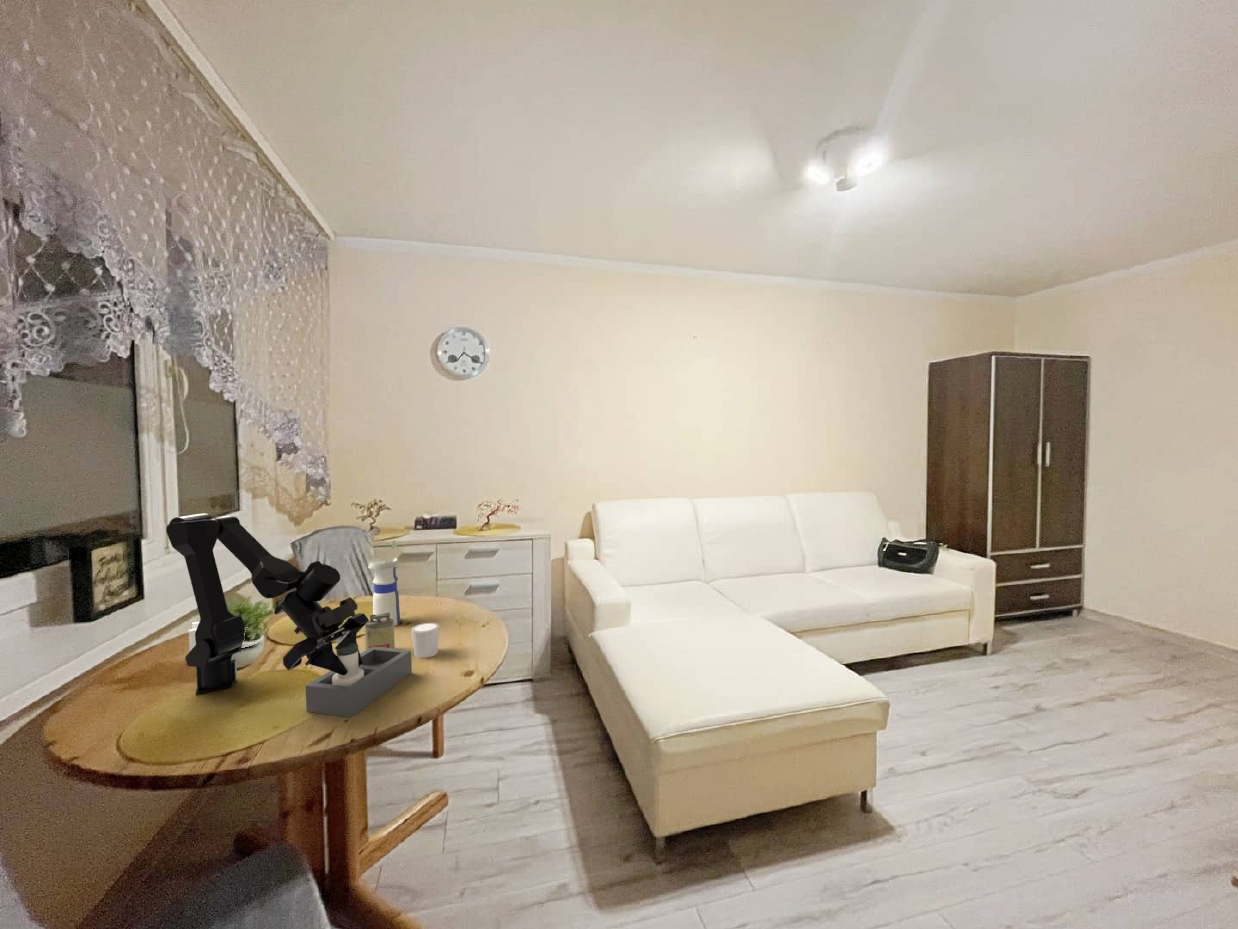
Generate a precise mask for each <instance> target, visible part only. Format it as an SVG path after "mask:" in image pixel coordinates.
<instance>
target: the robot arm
mask: <svg viewBox="0 0 1238 929" xmlns="http://www.w3.org/2000/svg"><path fill="white" fill-rule="evenodd" d="M165 527H166V529H165V530H166V534H167V538H168V540H169V542H170V545H171V547H172V548H173V549H174V550H176V551H177V552H178V553H179V554H180V555H182V556H183V558H184V559H185V564H186V568H187V571H188V575H189V579H190V583H191V586H192V591H193V594H194V595H193V596H194V599H195V603H196V606H197V611H198V615H199V619H200V620H199V621H198V622H199V625H198V627H197V630H196V632H195V640H196V645H195V646H194V648H193V649H192V650H191V651H190V650H189V652H188V653H187V654H186V655H185V657H184V658H185V662H186V666H188V667H194V668H195V671H196V690H195V693H196V694H195V695H198V694H197V693H201V694H203V693H204V694H205V693H209V691H210V692H214V691H219V689H220V690H223V689H222V688H224V689H228V688H227V687H229V688H232V687H233V685H234V682H236V681H237V678H238V670H237V669H238V668H237V664H238V663H237V659H236V658H235V659H234V654H238V653H240V652H241V651H242V643H243V641H244V640H245V633H244V632H246V629H245V628H246V627H245V625H244V620H243V619H244V618H243V617H242V616H241V615H234V614H233V613H232V612H231V611H229V609H228V604H227V601H226V600H227V599H226V598H225V593H224V588H223V585H222V581H221V576H220V573H219V570H218V565H217V563H216V558H215V555H214V554H215V553H214V548H215V546H216V543H217V541H219V542H220V543H221V544H222V545H223V546H224V547H225V548H226V549H227V550H228V551H229V552H230V553H231V554H232V555H233V556H234V557H235V558H236V559H237V560H238V561H239V562H240V563H241V564H242V565H243V566H244V567H245V568H246V569H247V570H248V571H249V572H250V575H251V583H252V584H253V586H254V587H255V589H256V590H257V592H258V593H259V594H260V595H261V597H263V598H264V599H275V598H277V597H280V596H283V595H285V596H284V598H281V599H279V600H276V601H275V607H274V612H273V614H274V615H279V614H281V613H285V615H287V616H288V619H290V620H291V621H292V622H293V623H294V625H295V627H296V628H295V629H294V630H293V632H294V633H295V634H296V635H298V634H301V633H302V634H303V636H304V637H305V638H304V639H303V640H301V641H298V642H297V643H295V644H294V645H293V646H292V647H291V648H290V650H288V652H287V653H285V655H284V656H283V657H282V664H283V666H284V668H285V669H286V670H287V671H292V670H293V669H296V668H297V667H299V666H300V665H301V664H302V661H303V658H304V657H305V656H306V658H307V661H306V662H305V663H304V664H305V666H309V665H310V666H314V667H317V668H321V669H325V670H327V671H329V672H330V671H333V672H335V673H338V674H341V675H343V676H344V675H346V674H347V673H348V671H347V669H346V668H345V666H344V665H343V663H342V662H341V661H340V659H339V658H338V657H337V654H336V653H335V652H334V649H335V650H336V648H337V647H338V646H340V645H343V644H347V643H356V644H358V643H357V642H358V641H357V634H358V633H359V632H360V631H361V630H362V629H363V628H364V627H365V624H366V623H367V622H368V621H370V618H368V616H367V615H366V614H365V613H362V612H361V613H360V612H359V613H357V614H356V612H355V611H357V610H358V607H359V606H358V603H357V602H356V600H354V599H353V598H352V597H347V598H346V599H343V600H341V601H340V602H339V606H337V607H335V608H333V609H332V608H331V607H330V606H327V605H325V606H324V607H322V605H321V604H320V603H319V602H320V601H322V600H323V599H325V598H326V597H327V595H329V593H330V592H331V591H332V590H333V589H334V588H335V587H336V586H337V584H338V583H339V582H340V580H341V575H340V572H339V571H338V569H337V568H336V567H335V568H334V567H333V566H331V565H328V564H325V563H324V564H323V563H322V562H321V561H320V560H316V561H313V562H311V563H309V565H308V566H307V569H306V570H304V571H303V570H300V569H298V568H297V567H296V566H294V565H293V564H292V563H290V562H288V561H287V560H284V559H283V558H278V557H275V556H274V555H272V553H270V552H269V551H268V549H266V548H265V547H264V546H263V545H262V544H261V543H260V542H259V541H258V540H257V539H256V538H255V537H254V536H253V535H252V534H251V533H250V532H249V531H248V530H247V528H245V527H244V526H243V525H242V524H241V521H240V520H239V518H238V517H237V516H233V515H225V516H223V515H222V516H221V515H220V516H219V515H217V516H212V515H210V514H209V513H206V512H205V513H202V512H201V513H196V514H190V515H184V516H178V517H177V516H175V517H174V518H172V519H171V520H170V522H169V523H168V525H166V526H165ZM286 594H287V595H286ZM334 641H335V642H336V643H337V645H336V646H335V648H334V649H333V642H334ZM360 654H361V652H360V650H359V648H358V665H359V666H360V665H361V664H362V663H363V662H362V659H361V655H360Z"/></svg>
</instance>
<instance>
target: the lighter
mask: <svg viewBox="0 0 1238 929" xmlns="http://www.w3.org/2000/svg"><path fill="white" fill-rule="evenodd" d="M382 618H387V619H382ZM373 619H376V620H373ZM364 646H365V647H364V649H365V651H366V650H368V649H369V648H371V647H383V648H393V649H396V647H395V626H394V621H393V619H391V618H390V612H387V613H385V614H379V615H373V614H370V615H369V621H368V622H367V623H366V624H365V625H364Z"/></svg>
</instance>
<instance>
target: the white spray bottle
mask: <svg viewBox="0 0 1238 929" xmlns="http://www.w3.org/2000/svg"><path fill="white" fill-rule="evenodd" d="M389 544H390V545H391V550H394V549H395V550H398V546H399V542H396V540H395V539H393V541H392V542H389ZM398 560H399V559H398V558H396V557H394V559H393V561H391V562H386V561H385V559H384V558H381V557H380V558H376V559H373V560H371V561H370V562H369V565H368V567H367V569H370V570H373V572H374V578H373V580H372V583H373V590H374V591H373V594H372V615H379V614H385V613H387V612H390V618H391V619H393V621H394V627H395V626H397V625H399V624H400V623H401V611H400V595H399V591H398V580H399V577H398V576H397V573H396V569H398V568H399V567H400V566H399V561H398ZM382 619H387V618H382ZM373 620H376V619H373Z"/></svg>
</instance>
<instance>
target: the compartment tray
mask: <svg viewBox="0 0 1238 929" xmlns="http://www.w3.org/2000/svg"><path fill="white" fill-rule="evenodd" d="M360 655H361V659H362V662H363V663H362V664H361V665H360V666H359V668H361V669H363V670H364V677H363V678H361V679H360V680H358V681H357V682H355V683H354V684H352V685H351V686H349V687H348V686H340V685H332V676H333V675H334V674H335V672H333V671H330V670H329V671H328V672H326V673H324V674H323V675H321V676H320V677H318V678H316V679H314V680H312V681H311V682H308V683H307V684H306V685H305V703H306V705H305V706H306V712H307V711H312V712H311V713H314V712H315V713H314V714H322V715H323V714H324V715H328V716H330V715H331V716H336V717H342V718H343V717H344V718H352V717H353V716H355V715H357V714H358V713H359V712H360V711H362V710H363V709H364V708H366V707H367V706H368V705H370V704H371V703H372V702H374V701H375V700H377V699H378V698H379V697H381V696H382V695H384V694H385V693H386V692H387V691H389V690H390V689H392V688H394V686H396V685H398V683H400V682H401V681H403V680H404V679H406V678H407V677H408V676H410V675H411V674H412V670H413V668H412V666H413V665H412V650H411V649H401V648H395V649H393V648H383V647H371V648H369V649H368V650H366V651H362V652H360Z"/></svg>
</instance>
